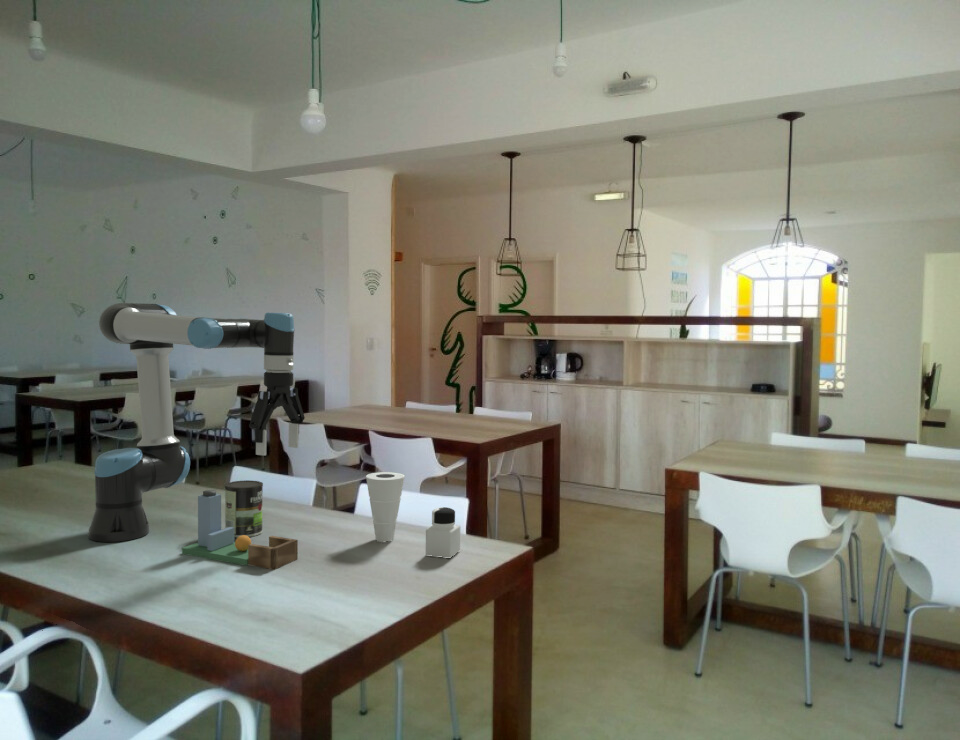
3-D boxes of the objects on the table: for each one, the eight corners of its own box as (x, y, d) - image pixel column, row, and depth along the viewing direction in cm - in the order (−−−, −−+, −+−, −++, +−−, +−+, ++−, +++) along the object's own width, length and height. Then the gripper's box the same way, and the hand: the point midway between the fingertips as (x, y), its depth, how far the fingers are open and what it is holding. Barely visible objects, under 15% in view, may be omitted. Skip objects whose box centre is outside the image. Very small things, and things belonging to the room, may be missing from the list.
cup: (410, 537, 207) (411, 474, 206) (390, 547, 197) (391, 481, 196) (378, 532, 212) (379, 470, 210) (357, 542, 202) (358, 477, 201)
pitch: (182, 553, 189) (182, 547, 189) (210, 543, 198) (210, 537, 198) (246, 565, 181) (246, 559, 181) (273, 554, 190) (273, 548, 190)
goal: (248, 564, 181) (248, 545, 181) (272, 554, 189) (272, 535, 189) (274, 569, 178) (274, 549, 178) (297, 559, 186) (297, 539, 186)
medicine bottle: (460, 551, 195) (461, 507, 194) (450, 559, 188) (451, 513, 188) (435, 548, 198) (436, 504, 197) (425, 556, 191) (425, 510, 190)
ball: (231, 552, 186) (231, 536, 186) (242, 547, 190) (242, 532, 190) (243, 554, 185) (243, 538, 185) (254, 549, 188) (254, 534, 188)
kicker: (192, 547, 189) (192, 493, 188) (214, 539, 196) (214, 487, 195) (212, 550, 186) (212, 496, 185) (234, 542, 194) (234, 490, 193)
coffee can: (269, 529, 213) (269, 481, 212) (251, 539, 203) (251, 488, 202) (236, 526, 215) (236, 479, 214) (217, 536, 205) (217, 486, 204)
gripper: (259, 374, 181) (258, 459, 182) (318, 369, 204) (317, 445, 205) (234, 372, 184) (234, 457, 185) (295, 368, 207) (294, 443, 208)
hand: (277, 451), depth 195 cm, fingers open, 13 cm apart
